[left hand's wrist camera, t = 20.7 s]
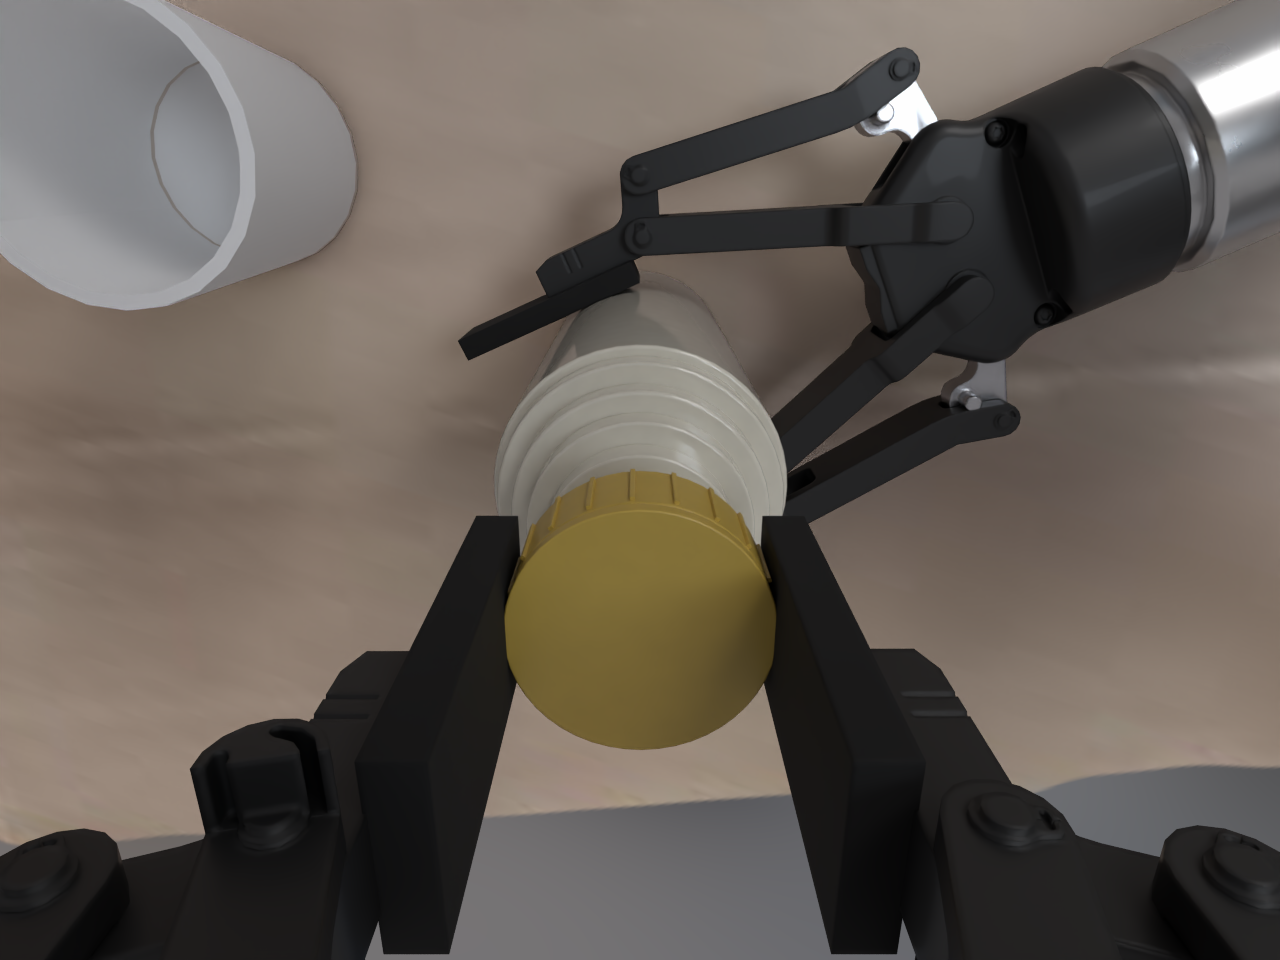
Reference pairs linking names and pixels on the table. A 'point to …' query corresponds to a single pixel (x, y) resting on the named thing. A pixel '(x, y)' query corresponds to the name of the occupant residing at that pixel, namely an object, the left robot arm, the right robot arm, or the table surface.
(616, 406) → the bottle
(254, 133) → the mug
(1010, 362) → the table surface
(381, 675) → the left robot arm
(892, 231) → the right robot arm
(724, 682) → the cap
